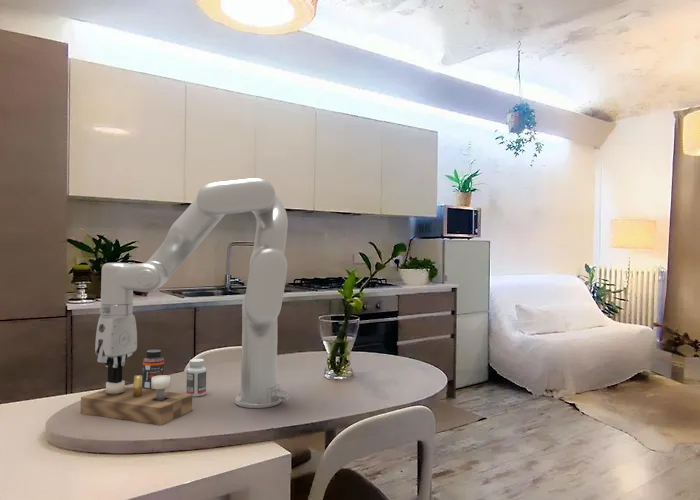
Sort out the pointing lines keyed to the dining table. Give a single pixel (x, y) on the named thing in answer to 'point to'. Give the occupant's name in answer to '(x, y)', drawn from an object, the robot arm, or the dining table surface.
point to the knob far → (115, 388)
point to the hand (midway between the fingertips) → (114, 382)
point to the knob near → (160, 386)
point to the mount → (137, 406)
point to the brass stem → (137, 386)
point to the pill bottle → (196, 378)
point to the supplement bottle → (152, 367)
